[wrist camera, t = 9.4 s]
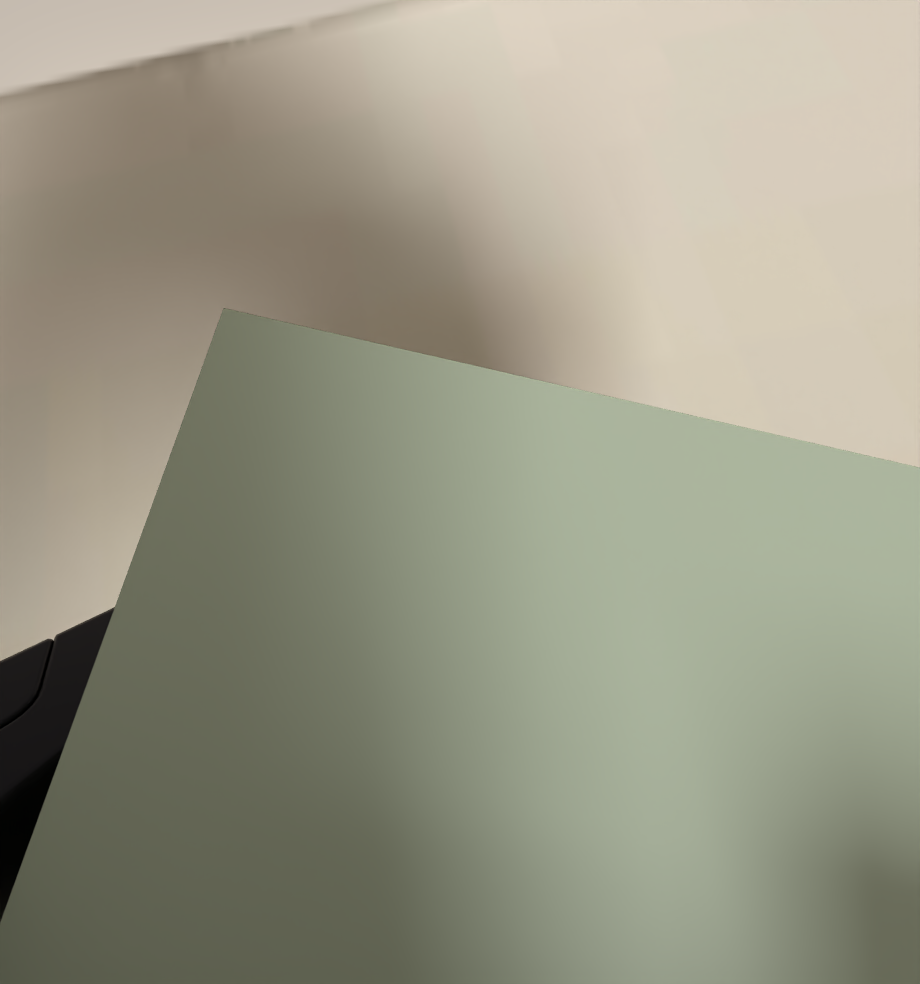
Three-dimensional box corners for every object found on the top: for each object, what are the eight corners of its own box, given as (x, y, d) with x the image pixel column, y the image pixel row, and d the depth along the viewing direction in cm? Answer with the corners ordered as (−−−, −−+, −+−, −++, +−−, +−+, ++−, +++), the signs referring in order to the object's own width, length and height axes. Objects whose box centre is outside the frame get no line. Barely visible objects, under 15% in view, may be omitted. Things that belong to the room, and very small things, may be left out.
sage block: (592, 824, 14) (861, 1516, 3) (366, 751, 14) (-69, 1113, 4) (645, 589, 15) (998, 486, 4) (429, 532, 15) (224, 308, 5)
